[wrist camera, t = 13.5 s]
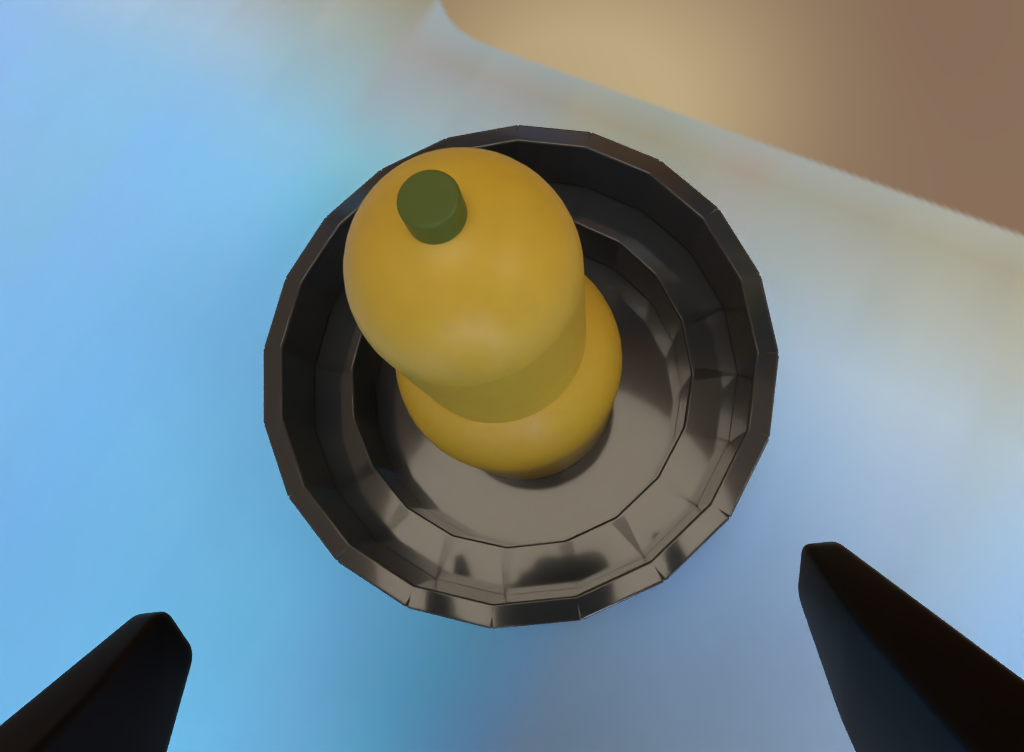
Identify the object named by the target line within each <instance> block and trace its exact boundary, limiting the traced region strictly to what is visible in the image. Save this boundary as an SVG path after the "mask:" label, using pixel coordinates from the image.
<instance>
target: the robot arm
mask: <svg viewBox="0 0 1024 752" xmlns="http://www.w3.org/2000/svg"><path fill="white" fill-rule="evenodd" d="M798 590H799V597H800V601H801V605H802V608H803V611H804V614H805V617H806V619H807V622H808V625H809V628H810V631H811V634H812V637H813V640H814V642H815V645H816V648H817V651H818V654H819V657H820V660H821V663H822V665H823V668H824V671H825V674H826V677H827V680H828V683H829V686H830V689H831V691H832V694H833V697H834V700H835V703H836V706H837V708H838V711H839V714H840V716H841V719H842V722H843V724H844V726H845V728H846V731H847V733H848V735H849V738H850V740H851V742H852V744H853V746H854V749H855V751H856V752H1024V680H1023V679H1021V678H1020V677H1019V676H1017V675H1016V674H1015V673H1013V672H1012V671H1011V670H1009V669H1008V668H1007V667H1005V666H1004V665H1002V664H1001V663H1000V662H998V661H997V660H996V659H994V658H993V657H992V656H990V655H989V654H988V653H986V652H985V651H984V650H982V649H981V648H980V647H978V646H977V645H976V644H974V643H973V642H972V641H970V640H969V639H968V638H966V637H965V636H964V635H962V634H961V633H960V632H958V631H957V630H955V629H954V628H953V627H951V626H950V625H949V624H947V623H946V622H945V621H943V620H942V619H941V618H939V617H938V616H937V615H935V614H934V613H933V612H931V611H930V610H929V609H927V608H926V607H925V606H923V605H922V604H921V603H919V602H918V601H917V600H915V599H914V598H912V597H911V596H910V595H908V594H907V593H906V592H904V591H903V590H902V589H900V588H899V587H898V586H896V585H895V584H894V583H892V582H891V581H890V580H888V579H887V578H886V577H884V576H883V575H882V574H880V573H879V572H878V571H876V570H875V569H874V568H872V567H871V566H870V565H868V564H867V563H865V562H864V561H863V560H861V559H860V558H859V557H857V556H856V555H855V554H853V553H852V552H851V551H849V550H848V549H847V548H845V547H844V546H843V545H841V544H839V543H836V542H823V543H813V544H807V545H805V546H804V548H803V550H802V554H801V564H800V574H799V584H798ZM191 662H192V649H191V646H190V644H189V642H188V641H187V639H186V638H185V636H184V635H183V633H182V632H181V631H180V629H179V628H178V626H177V625H176V623H175V622H174V620H173V619H172V617H171V616H170V615H169V614H167V613H165V612H153V613H144V614H139V615H136V616H134V617H132V618H131V619H130V620H128V621H127V622H126V623H125V624H124V625H122V626H121V627H120V628H119V629H118V630H116V631H115V632H114V633H113V634H111V635H110V636H109V637H108V638H107V639H105V640H104V641H103V642H102V643H100V644H99V645H98V646H97V647H96V648H94V649H93V650H92V651H91V652H90V653H88V654H87V655H86V656H85V657H83V658H82V659H81V660H80V661H79V662H77V663H76V664H75V665H74V666H72V667H71V668H70V669H69V670H68V671H66V672H65V673H64V674H63V675H61V676H60V677H59V678H58V679H57V680H55V681H54V682H53V683H52V684H50V685H49V686H48V687H47V688H46V689H44V690H43V691H42V692H41V693H40V694H38V695H37V696H36V697H35V698H33V699H32V700H31V701H30V702H29V703H27V704H26V705H25V706H24V707H22V708H21V709H20V710H19V711H18V712H16V713H15V714H14V715H13V716H11V717H10V718H9V719H8V720H7V721H5V722H4V723H3V724H2V725H1V726H0V752H167V749H168V745H169V741H170V738H171V734H172V731H173V727H174V724H175V720H176V716H177V713H178V709H179V706H180V702H181V698H182V695H183V691H184V688H185V684H186V681H187V677H188V673H189V670H190V666H191Z"/></svg>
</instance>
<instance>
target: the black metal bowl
mask: <svg viewBox="0 0 1024 752" xmlns="http://www.w3.org/2000/svg"><path fill="white" fill-rule="evenodd" d="M452 147H469V148H478V149H485V150H490V151H494V152H497V153H500V154H503V155H506V156H508V157H510V158H512V159H514V160H516V161H518V162H520V163H522V164H524V165H526V166H527V167H529V168H530V169H531V170H533V171H534V172H536V173H537V174H538V175H539V176H540V177H541V178H543V179H544V180H545V181H546V182H547V183H548V184H549V185H550V186H551V187H552V188H553V189H554V191H555V192H556V193H557V194H558V196H559V197H560V198H561V199H562V201H563V203H564V204H565V206H566V208H567V210H568V211H569V213H570V215H571V217H572V219H573V221H574V224H575V226H576V229H577V231H578V235H579V238H580V242H581V246H582V251H583V262H584V275H585V276H587V277H588V278H589V279H590V280H591V281H592V282H593V283H594V285H595V286H596V287H597V289H598V290H599V291H600V292H601V294H602V295H603V297H604V299H605V300H606V302H607V304H608V306H609V307H610V309H611V311H612V313H613V316H614V318H615V321H616V323H617V326H618V330H619V335H620V339H621V348H622V373H621V379H620V385H619V388H618V391H617V395H616V398H615V401H614V403H613V407H612V412H611V415H610V418H609V422H608V424H607V426H606V428H605V430H604V432H603V434H602V436H601V437H600V439H599V440H598V442H597V443H596V444H595V446H594V447H593V448H592V449H591V450H590V451H589V452H588V453H587V454H586V455H585V456H584V457H583V458H582V459H581V460H579V461H578V462H577V463H575V464H574V465H572V466H571V467H569V468H567V469H565V470H563V471H561V472H559V473H556V474H553V475H550V476H548V477H543V478H538V479H529V480H518V479H508V478H503V477H499V476H496V475H493V474H490V473H488V472H486V471H484V470H482V469H478V468H475V467H472V466H469V465H466V464H463V463H461V462H459V461H457V460H455V459H454V458H452V457H450V456H448V455H447V454H446V453H444V452H443V451H441V450H440V449H439V448H437V447H436V446H435V445H434V444H433V443H432V442H431V441H430V440H429V439H428V438H426V437H425V435H424V434H423V433H422V432H421V431H420V429H419V428H418V427H417V426H416V424H415V423H414V421H413V419H412V418H411V416H410V414H409V413H408V410H407V408H406V406H405V404H404V401H403V399H402V397H401V394H400V390H399V386H398V383H397V376H396V369H395V368H394V367H392V366H391V365H390V364H389V363H388V362H387V361H385V360H384V359H383V358H382V357H381V356H380V355H379V354H378V353H377V352H376V351H375V350H374V349H373V347H372V346H371V345H370V344H369V343H368V341H367V340H366V338H365V337H364V335H363V334H362V332H361V330H360V329H359V327H358V325H357V323H356V321H355V319H354V316H353V314H352V312H351V309H350V307H349V303H348V299H347V296H346V291H345V284H344V276H343V258H344V251H345V245H346V239H347V235H348V232H349V228H350V225H351V223H352V221H353V218H354V216H355V214H356V212H357V210H358V208H359V207H360V205H361V203H362V202H363V200H364V199H365V197H366V196H367V195H368V193H369V192H370V191H371V189H372V188H373V187H374V186H375V185H376V184H377V183H378V182H379V181H380V180H381V179H382V178H383V177H384V176H385V175H386V174H388V173H389V172H390V171H391V170H393V169H394V168H396V167H397V166H399V165H400V164H402V163H403V162H405V161H407V160H409V159H411V158H413V157H416V156H418V155H421V154H424V153H426V152H430V151H434V150H438V149H445V148H452ZM286 278H287V279H286V280H285V282H284V285H283V289H282V292H281V295H280V298H279V302H278V305H277V308H276V311H275V315H274V318H273V321H272V324H271V328H270V331H269V334H268V337H267V341H266V344H265V349H264V423H265V428H266V431H267V434H268V437H269V440H270V443H271V446H272V449H273V452H274V455H275V458H276V461H277V464H278V467H279V470H280V473H281V476H282V479H283V482H284V485H285V488H286V491H287V494H288V496H290V497H289V498H290V500H291V501H292V503H293V504H294V505H295V507H296V508H297V509H298V511H299V512H300V513H301V515H302V516H303V517H304V519H305V520H306V521H307V522H308V524H309V525H310V526H311V528H312V529H313V530H314V532H315V533H316V534H317V536H318V537H319V538H320V540H321V541H322V542H323V544H324V545H325V546H326V548H327V549H328V550H329V552H330V553H331V554H332V556H333V557H334V558H335V559H336V560H338V562H339V563H340V564H342V565H343V566H345V567H346V568H348V569H349V570H351V571H352V572H354V573H355V574H357V575H358V576H360V577H361V578H363V579H364V580H366V581H367V582H369V583H370V584H372V585H373V586H375V587H376V588H378V589H379V590H381V591H382V592H384V593H385V594H387V595H389V596H390V597H392V598H393V599H395V600H396V601H398V602H399V603H401V604H402V605H404V606H407V607H408V608H410V609H414V610H418V611H422V612H426V613H430V614H434V615H438V616H442V617H446V618H450V619H454V620H458V621H462V622H466V623H470V624H474V625H478V626H482V627H486V628H493V629H495V628H506V627H516V626H526V625H537V624H547V623H557V622H568V621H578V620H581V618H582V619H585V618H587V617H590V616H592V615H594V614H596V613H598V612H600V611H602V610H605V609H607V608H609V607H611V606H613V605H615V604H618V603H620V602H622V601H624V600H626V599H628V598H630V597H633V596H635V595H637V594H639V593H641V592H643V591H646V590H648V589H650V588H652V587H654V586H656V585H658V584H661V583H663V581H664V580H667V579H668V578H669V577H670V576H671V575H672V574H673V573H674V572H675V571H676V570H677V569H678V568H679V567H680V566H681V565H683V564H684V563H685V562H686V561H687V560H688V559H689V558H690V557H691V556H692V555H693V554H694V553H695V552H696V551H697V550H698V549H699V548H700V547H701V546H702V545H703V544H704V543H705V542H706V541H707V540H708V539H709V538H710V537H711V536H712V535H713V534H714V533H715V532H716V531H717V530H718V529H719V528H720V527H721V526H722V525H724V524H725V523H726V522H727V521H728V520H729V517H731V516H732V514H733V512H734V510H735V508H736V505H737V503H738V501H739V499H740V497H741V495H742V493H743V491H744V489H745V487H746V485H747V483H748V481H749V479H750V477H751V475H752V473H753V471H754V469H755V467H756V465H757V463H758V461H759V459H760V457H761V455H762V453H763V451H764V449H765V447H766V444H767V442H768V440H769V439H768V438H769V436H770V428H771V420H772V411H773V402H774V393H775V385H776V376H777V367H778V358H779V356H778V348H777V344H776V339H775V335H774V331H773V326H772V322H771V318H770V313H769V309H768V305H767V300H766V296H765V292H764V287H763V283H762V279H761V276H759V272H758V270H757V268H756V267H755V265H754V264H753V262H752V261H751V259H750V257H749V256H748V254H747V253H746V251H745V249H744V248H743V246H742V245H741V243H740V241H739V240H738V238H737V237H736V235H735V234H734V232H733V230H732V229H731V227H730V226H729V224H728V222H727V221H726V219H725V218H724V216H723V214H722V213H721V211H720V210H718V208H717V207H716V206H715V205H714V204H713V203H711V202H710V201H709V200H708V199H707V198H705V197H704V196H703V195H702V194H700V193H699V192H698V191H697V190H696V189H694V188H693V187H692V186H691V185H690V184H688V183H687V182H686V181H685V180H683V179H682V178H681V177H680V176H679V175H677V174H676V173H675V172H674V171H673V170H671V169H670V168H669V167H668V166H666V165H665V164H664V163H663V162H661V161H660V162H659V160H658V159H656V158H653V157H651V156H648V155H646V154H643V153H641V152H638V151H636V150H634V149H631V148H629V147H626V146H624V145H621V144H619V143H616V142H614V141H611V140H609V139H606V138H604V137H601V136H599V135H597V134H594V133H590V132H584V131H574V130H564V129H553V128H543V127H533V126H523V125H519V126H517V125H516V126H510V127H505V128H499V129H493V130H488V131H482V132H477V133H471V134H466V135H460V136H454V137H449V138H447V139H443V140H441V141H439V142H437V143H435V144H433V145H431V146H429V147H427V148H425V149H422V150H420V151H418V152H416V153H414V154H412V155H410V156H408V157H406V158H404V159H402V160H399V161H397V162H395V163H393V164H391V165H389V166H387V167H385V168H383V169H382V171H381V170H380V171H378V172H377V173H376V174H375V175H374V176H373V177H372V178H370V179H369V180H368V181H367V182H366V183H365V184H363V185H362V186H361V187H360V188H359V189H358V190H357V191H355V192H354V193H353V194H352V195H351V196H350V197H348V198H347V199H346V200H345V201H344V202H343V203H342V204H340V205H339V206H338V207H337V208H336V209H335V210H333V211H332V212H331V213H330V214H329V215H328V216H327V218H325V219H324V220H323V222H322V223H321V225H320V226H319V228H318V229H317V231H316V233H315V234H314V236H313V237H312V239H311V240H310V242H309V243H308V245H307V246H306V248H305V249H304V251H303V252H302V254H301V255H300V257H299V258H298V260H297V261H296V263H295V264H294V266H293V267H292V269H291V270H290V272H289V273H288V275H287V277H286Z"/></svg>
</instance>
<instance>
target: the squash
mask: <svg viewBox="0 0 1024 752" xmlns="http://www.w3.org/2000/svg"><path fill="white" fill-rule="evenodd" d="M343 276H344V284H345V291H346V296H347V299H348V303H349V307H350V309H351V312H352V314H353V316H354V319H355V321H356V323H357V325H358V327H359V329H360V330H361V332H362V334H363V335H364V337H365V338H366V340H367V341H368V343H369V344H370V345H371V346H372V347H373V349H374V350H375V351H376V352H377V353H378V354H379V355H380V356H381V357H382V358H383V359H384V360H385V361H387V362H388V363H389V364H390V365H391V366H392V367H394V368H395V369H396V376H397V383H398V386H399V390H400V394H401V397H402V399H403V401H404V404H405V406H406V408H407V410H408V413H409V414H410V416H411V418H412V419H413V421H414V423H415V424H416V426H417V427H418V428H419V429H420V431H421V432H422V433H423V434H424V435H425V437H426V438H428V439H429V440H430V441H431V442H432V443H433V444H434V445H435V446H436V447H437V448H439V449H440V450H441V451H443V452H444V453H446V454H447V455H448V456H450V457H452V458H454V459H455V460H457V461H459V462H461V463H463V464H466V465H469V466H472V467H475V468H478V469H482V470H484V471H486V472H488V473H490V474H493V475H496V476H499V477H503V478H508V479H518V480H529V479H538V478H543V477H548V476H550V475H553V474H556V473H559V472H561V471H563V470H565V469H567V468H569V467H571V466H572V465H574V464H575V463H577V462H578V461H579V460H581V459H582V458H583V457H584V456H585V455H586V454H587V453H588V452H589V451H590V450H591V449H592V448H593V447H594V446H595V444H596V443H597V442H598V440H599V439H600V437H601V436H602V434H603V432H604V430H605V428H606V426H607V424H608V422H609V418H610V415H611V412H612V407H613V403H614V401H615V398H616V395H617V391H618V388H619V385H620V379H621V373H622V348H621V339H620V335H619V330H618V326H617V323H616V321H615V318H614V316H613V313H612V311H611V309H610V307H609V306H608V304H607V302H606V300H605V299H604V297H603V295H602V294H601V292H600V291H599V290H598V289H597V287H596V286H595V285H594V283H593V282H592V281H591V280H590V279H589V278H588V277H587V276H585V275H584V262H583V251H582V246H581V242H580V238H579V235H578V231H577V229H576V226H575V224H574V221H573V219H572V217H571V215H570V213H569V211H568V210H567V208H566V206H565V204H564V203H563V201H562V199H561V198H560V197H559V196H558V194H557V193H556V192H555V191H554V189H553V188H552V187H551V186H550V185H549V184H548V183H547V182H546V181H545V180H544V179H543V178H541V177H540V176H539V175H538V174H537V173H536V172H534V171H533V170H531V169H530V168H529V167H527V166H526V165H524V164H522V163H520V162H518V161H516V160H514V159H512V158H510V157H508V156H506V155H503V154H500V153H497V152H494V151H490V150H485V149H478V148H469V147H452V148H445V149H438V150H434V151H430V152H426V153H424V154H421V155H418V156H416V157H413V158H411V159H409V160H407V161H405V162H403V163H402V164H400V165H399V166H397V167H396V168H394V169H393V170H391V171H390V172H389V173H388V174H386V175H385V176H384V177H383V178H382V179H381V180H380V181H379V182H378V183H377V184H376V185H375V186H374V187H373V188H372V189H371V191H370V192H369V193H368V195H367V196H366V197H365V199H364V200H363V202H362V203H361V205H360V207H359V208H358V210H357V212H356V214H355V216H354V218H353V221H352V223H351V225H350V228H349V232H348V235H347V239H346V245H345V251H344V258H343Z"/></svg>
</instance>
